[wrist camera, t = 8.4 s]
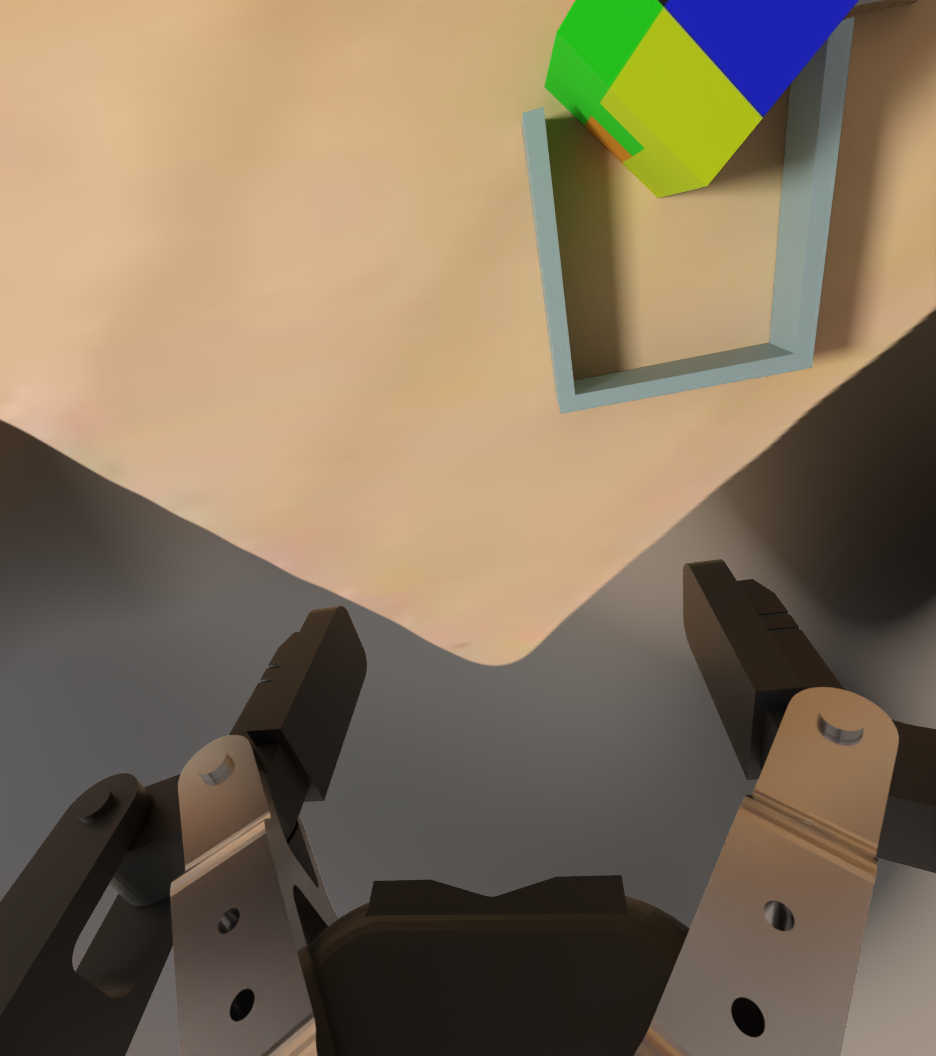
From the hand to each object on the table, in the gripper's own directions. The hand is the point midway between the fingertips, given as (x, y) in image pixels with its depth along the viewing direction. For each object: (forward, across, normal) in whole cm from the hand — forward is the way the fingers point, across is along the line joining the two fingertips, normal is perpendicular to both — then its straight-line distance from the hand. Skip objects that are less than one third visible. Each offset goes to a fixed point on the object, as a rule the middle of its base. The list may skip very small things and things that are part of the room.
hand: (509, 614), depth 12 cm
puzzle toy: (+32, -12, -15) cm, 37 cm away
